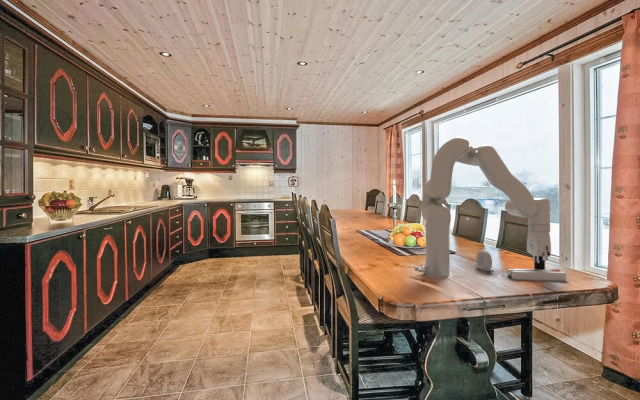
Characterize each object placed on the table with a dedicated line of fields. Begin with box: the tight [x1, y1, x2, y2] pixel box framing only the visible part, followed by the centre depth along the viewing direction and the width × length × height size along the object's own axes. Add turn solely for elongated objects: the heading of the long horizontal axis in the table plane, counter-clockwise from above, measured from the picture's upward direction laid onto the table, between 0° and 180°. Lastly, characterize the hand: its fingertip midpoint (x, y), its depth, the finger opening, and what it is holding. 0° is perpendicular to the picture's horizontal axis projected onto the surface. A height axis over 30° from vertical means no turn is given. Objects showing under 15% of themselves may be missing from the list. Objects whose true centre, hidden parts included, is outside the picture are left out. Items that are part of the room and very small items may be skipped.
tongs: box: [499, 271, 570, 283], centre depth 129 cm, size 21×12×4 cm, turn 81°
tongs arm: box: [506, 268, 561, 278], centre depth 128 cm, size 20×2×3 cm, turn 86°
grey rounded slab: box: [475, 249, 493, 272], centre depth 142 cm, size 10×4×10 cm, turn 179°
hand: (539, 271), depth 131 cm, fingers closed
